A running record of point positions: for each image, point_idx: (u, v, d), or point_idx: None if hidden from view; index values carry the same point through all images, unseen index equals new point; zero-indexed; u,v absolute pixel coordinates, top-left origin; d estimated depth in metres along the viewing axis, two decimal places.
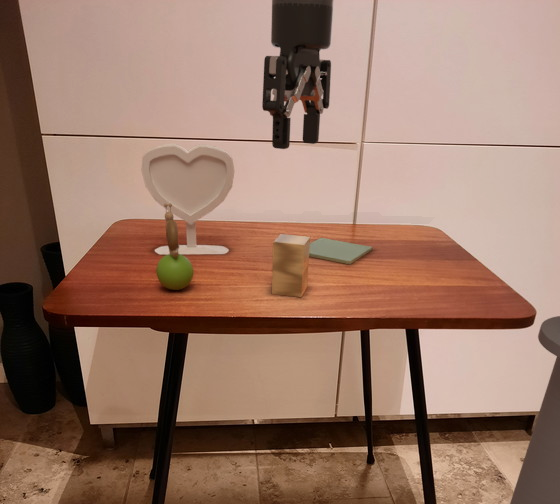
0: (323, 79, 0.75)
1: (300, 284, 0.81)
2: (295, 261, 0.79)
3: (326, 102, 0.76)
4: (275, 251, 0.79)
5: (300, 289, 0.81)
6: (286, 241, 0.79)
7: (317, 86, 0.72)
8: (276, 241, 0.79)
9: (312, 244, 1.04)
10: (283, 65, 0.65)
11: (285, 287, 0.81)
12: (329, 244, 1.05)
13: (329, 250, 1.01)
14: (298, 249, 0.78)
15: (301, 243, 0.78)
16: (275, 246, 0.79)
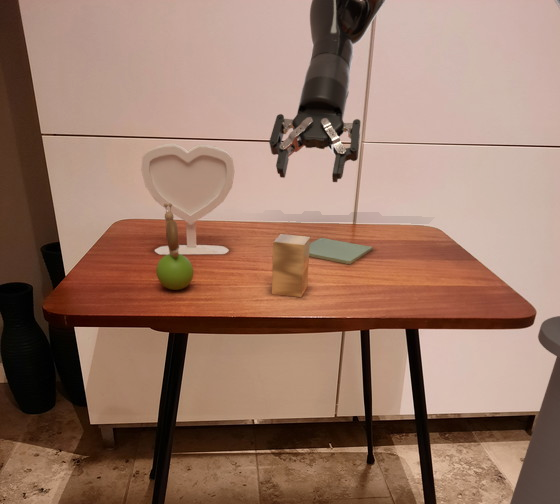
0: (351, 133, 0.86)
1: (300, 284, 0.81)
2: (295, 261, 0.79)
3: (351, 146, 0.85)
4: (275, 251, 0.79)
5: (300, 289, 0.81)
6: (286, 241, 0.79)
7: (327, 131, 0.86)
8: (276, 241, 0.79)
9: (312, 244, 1.04)
10: (278, 118, 0.88)
11: (285, 287, 0.81)
12: (329, 244, 1.05)
13: (329, 250, 1.01)
14: (298, 249, 0.78)
15: (301, 243, 0.78)
16: (275, 246, 0.79)
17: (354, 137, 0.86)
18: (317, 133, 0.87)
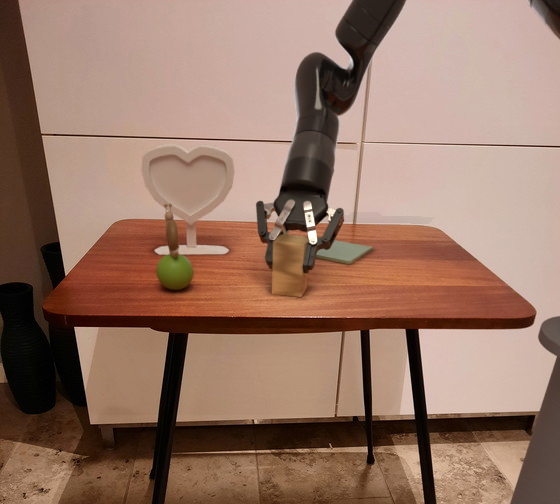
0: (331, 221, 0.81)
1: (300, 284, 0.81)
2: (295, 261, 0.79)
3: (324, 235, 0.80)
4: (275, 251, 0.79)
5: (300, 289, 0.81)
6: (286, 241, 0.79)
7: (306, 216, 0.80)
8: (276, 241, 0.79)
9: None
10: (259, 206, 0.83)
11: (285, 287, 0.81)
12: None
13: (329, 250, 1.01)
14: (298, 249, 0.78)
15: (301, 243, 0.78)
16: (275, 246, 0.79)
17: (330, 227, 0.80)
18: (299, 216, 0.81)
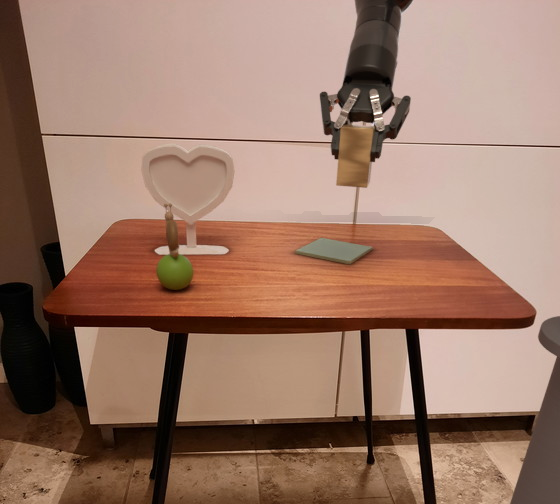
0: None
1: (366, 173, 0.79)
2: (363, 147, 0.78)
3: (391, 122, 0.78)
4: (342, 137, 0.78)
5: (366, 178, 0.80)
6: (354, 127, 0.78)
7: (372, 103, 0.79)
8: (344, 127, 0.78)
9: (312, 244, 1.04)
10: (322, 96, 0.81)
11: (350, 177, 0.80)
12: (329, 244, 1.05)
13: (329, 250, 1.01)
14: (366, 134, 0.77)
15: (369, 128, 0.77)
16: (343, 132, 0.78)
17: (398, 113, 0.79)
18: (365, 105, 0.80)
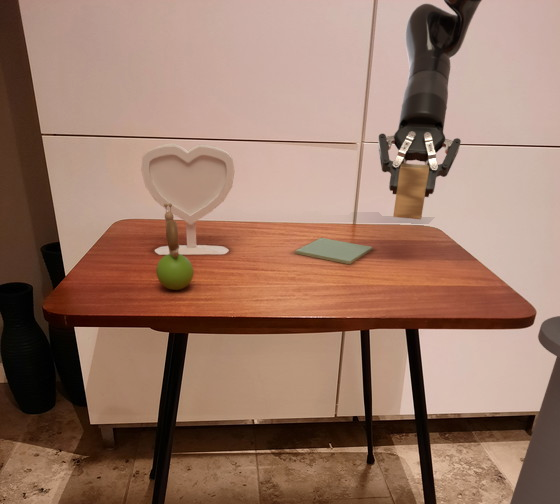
0: (449, 150, 0.90)
1: (421, 206, 0.90)
2: (419, 185, 0.88)
3: (444, 162, 0.89)
4: (401, 176, 0.88)
5: (421, 211, 0.90)
6: (411, 167, 0.88)
7: (427, 145, 0.90)
8: (402, 166, 0.88)
9: (312, 244, 1.04)
10: (381, 138, 0.92)
11: (407, 210, 0.91)
12: (329, 244, 1.05)
13: (329, 250, 1.01)
14: (423, 173, 0.87)
15: (425, 168, 0.88)
16: (401, 171, 0.88)
17: (449, 154, 0.89)
18: (420, 146, 0.91)
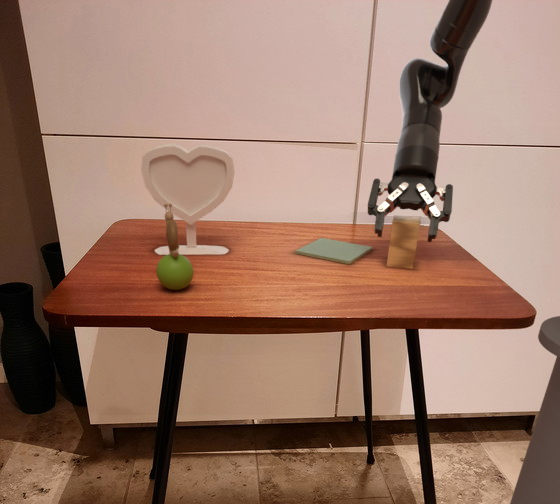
0: (444, 197, 0.94)
1: (413, 258, 0.94)
2: (410, 237, 0.93)
3: (446, 210, 0.93)
4: (393, 229, 0.93)
5: (412, 262, 0.95)
6: (403, 220, 0.92)
7: (423, 195, 0.94)
8: (395, 220, 0.92)
9: (312, 244, 1.04)
10: (375, 183, 0.96)
11: (399, 260, 0.95)
12: (329, 244, 1.05)
13: (329, 250, 1.01)
14: (414, 227, 0.92)
15: (417, 222, 0.92)
16: (394, 225, 0.92)
17: (448, 201, 0.93)
18: (412, 197, 0.94)
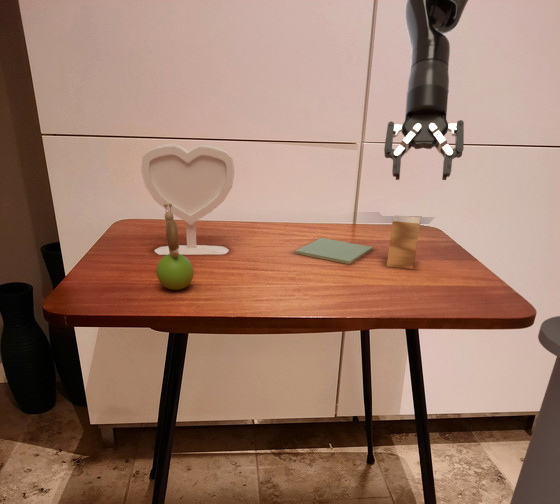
0: (456, 133, 1.00)
1: (413, 258, 0.94)
2: (410, 237, 0.93)
3: (458, 147, 0.99)
4: (393, 229, 0.93)
5: (412, 262, 0.95)
6: (403, 220, 0.92)
7: (435, 135, 1.00)
8: (395, 220, 0.92)
9: (312, 244, 1.04)
10: (389, 126, 1.02)
11: (399, 260, 0.95)
12: (329, 244, 1.05)
13: (329, 250, 1.01)
14: (414, 227, 0.92)
15: (417, 222, 0.92)
16: (394, 225, 0.92)
17: (459, 138, 1.00)
18: (426, 137, 1.01)
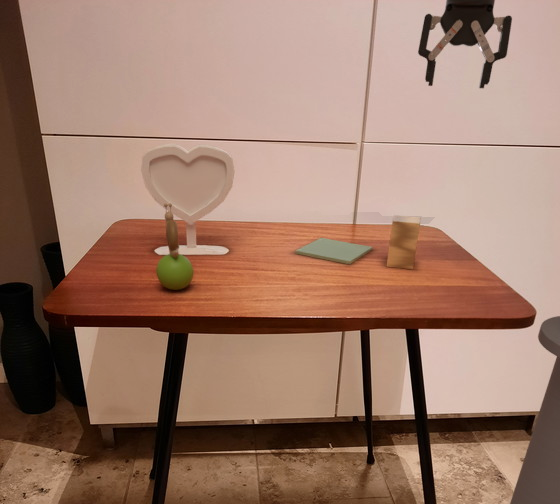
0: (501, 32, 0.88)
1: (413, 258, 0.94)
2: (410, 237, 0.93)
3: (500, 52, 0.89)
4: (393, 229, 0.93)
5: (412, 262, 0.95)
6: (403, 220, 0.92)
7: (477, 37, 0.89)
8: (395, 220, 0.92)
9: (312, 244, 1.04)
10: (426, 20, 0.90)
11: (399, 260, 0.95)
12: (329, 244, 1.05)
13: (329, 250, 1.01)
14: (414, 227, 0.92)
15: (417, 222, 0.92)
16: (394, 225, 0.92)
17: (504, 40, 0.88)
18: (466, 37, 0.89)
